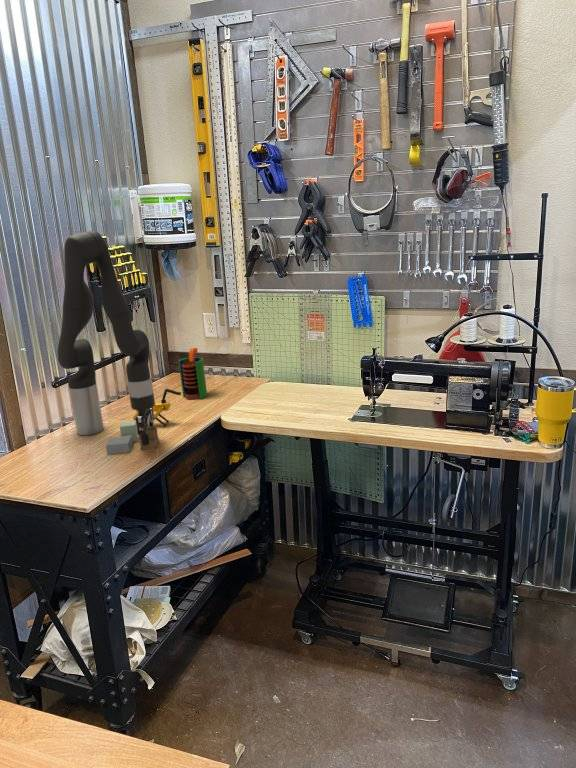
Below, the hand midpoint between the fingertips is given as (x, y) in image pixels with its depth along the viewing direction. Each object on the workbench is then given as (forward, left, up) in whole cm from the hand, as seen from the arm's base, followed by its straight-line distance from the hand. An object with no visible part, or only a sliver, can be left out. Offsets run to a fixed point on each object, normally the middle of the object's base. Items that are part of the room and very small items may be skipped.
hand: (148, 440), depth 194 cm
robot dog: (-21, 0, -3) cm, 21 cm away
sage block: (-8, -8, -2) cm, 11 cm away
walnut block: (-1, 0, -2) cm, 2 cm away
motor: (-52, +9, -3) cm, 52 cm away
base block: (0, -10, -3) cm, 10 cm away
